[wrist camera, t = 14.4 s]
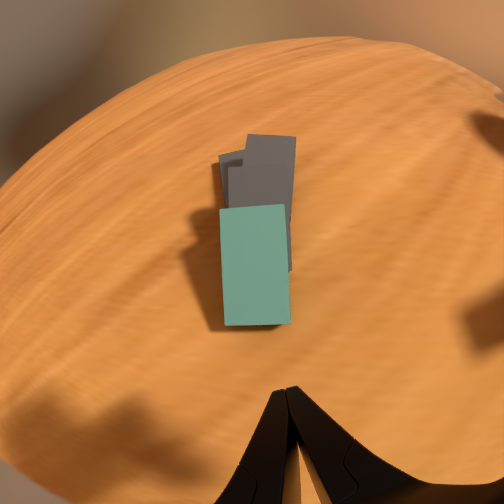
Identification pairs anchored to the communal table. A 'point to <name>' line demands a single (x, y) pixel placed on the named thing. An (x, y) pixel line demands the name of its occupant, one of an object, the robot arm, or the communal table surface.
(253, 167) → the domino
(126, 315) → the communal table surface
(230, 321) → the domino
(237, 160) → the domino end
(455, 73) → the communal table surface
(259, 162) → the domino
